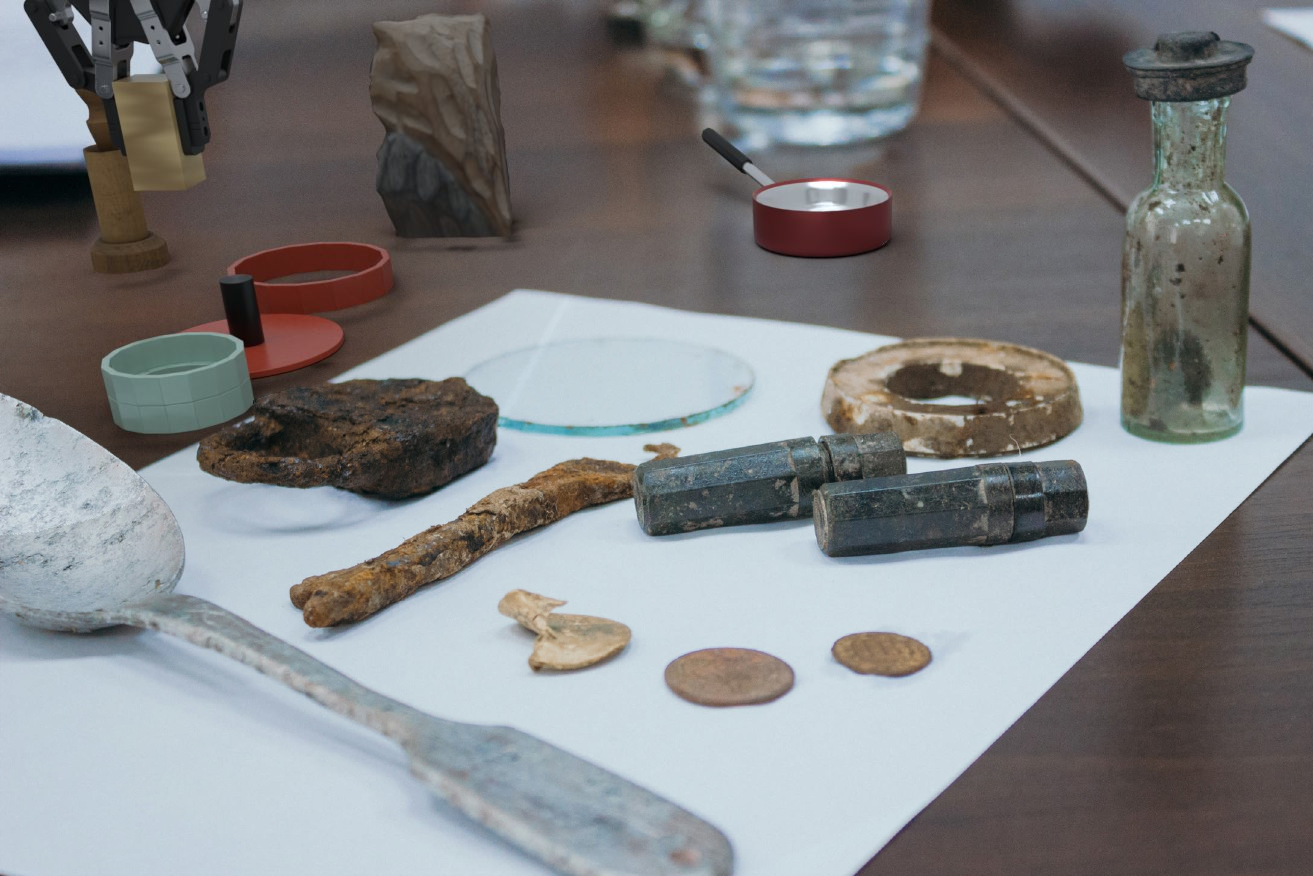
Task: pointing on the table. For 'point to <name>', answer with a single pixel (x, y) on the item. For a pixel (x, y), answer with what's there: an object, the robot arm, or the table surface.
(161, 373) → the bowl
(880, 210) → the frying pan
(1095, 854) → the table surface
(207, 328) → the pan lid
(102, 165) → the mortar and pestle
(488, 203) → the two-tone stone chunk
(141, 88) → the block
